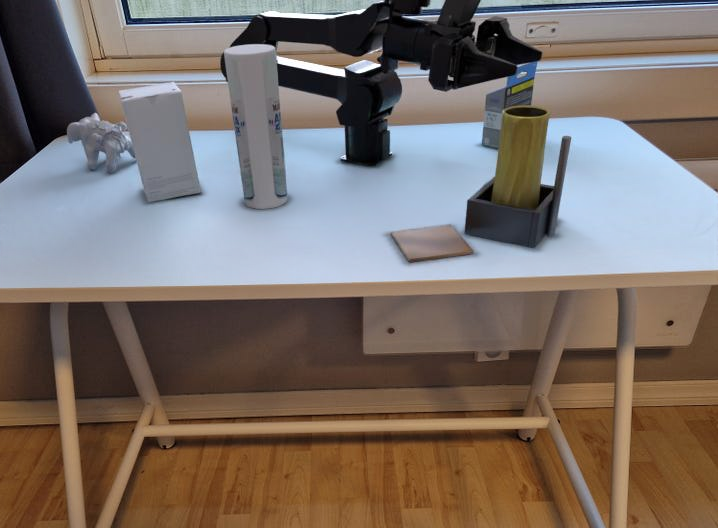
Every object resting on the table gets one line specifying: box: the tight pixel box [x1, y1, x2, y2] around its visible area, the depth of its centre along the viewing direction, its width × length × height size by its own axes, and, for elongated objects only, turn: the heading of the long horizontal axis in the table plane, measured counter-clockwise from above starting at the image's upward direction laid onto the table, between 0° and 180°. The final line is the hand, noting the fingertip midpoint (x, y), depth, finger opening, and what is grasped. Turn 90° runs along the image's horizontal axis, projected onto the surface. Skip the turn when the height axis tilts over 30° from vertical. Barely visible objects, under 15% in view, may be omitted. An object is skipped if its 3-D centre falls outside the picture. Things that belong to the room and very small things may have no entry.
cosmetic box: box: [118, 81, 202, 203], centre depth 91 cm, size 8×6×15 cm
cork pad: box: [390, 223, 475, 263], centre depth 78 cm, size 8×8×1 cm
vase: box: [491, 105, 551, 210], centre depth 77 cm, size 6×6×14 cm
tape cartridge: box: [481, 61, 539, 150], centre depth 105 cm, size 9×4×12 cm, turn 136°
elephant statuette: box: [66, 112, 136, 173], centre depth 105 cm, size 9×12×8 cm
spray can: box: [223, 44, 288, 210], centre depth 86 cm, size 6×6×20 cm
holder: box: [464, 135, 572, 249], centre depth 77 cm, size 10×9×12 cm
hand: (529, 63), depth 83 cm, fingers open, 9 cm apart
